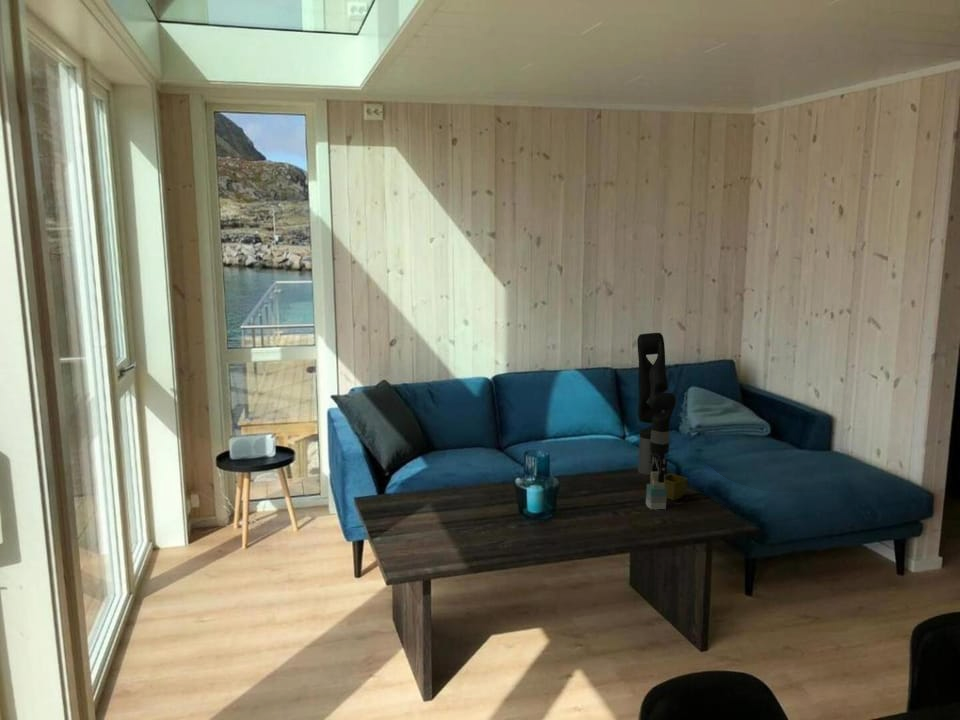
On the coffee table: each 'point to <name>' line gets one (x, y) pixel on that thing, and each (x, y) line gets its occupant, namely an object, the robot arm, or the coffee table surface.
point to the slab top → (656, 491)
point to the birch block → (656, 481)
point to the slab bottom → (655, 505)
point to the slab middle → (656, 498)
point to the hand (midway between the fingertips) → (657, 478)
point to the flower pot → (675, 486)
